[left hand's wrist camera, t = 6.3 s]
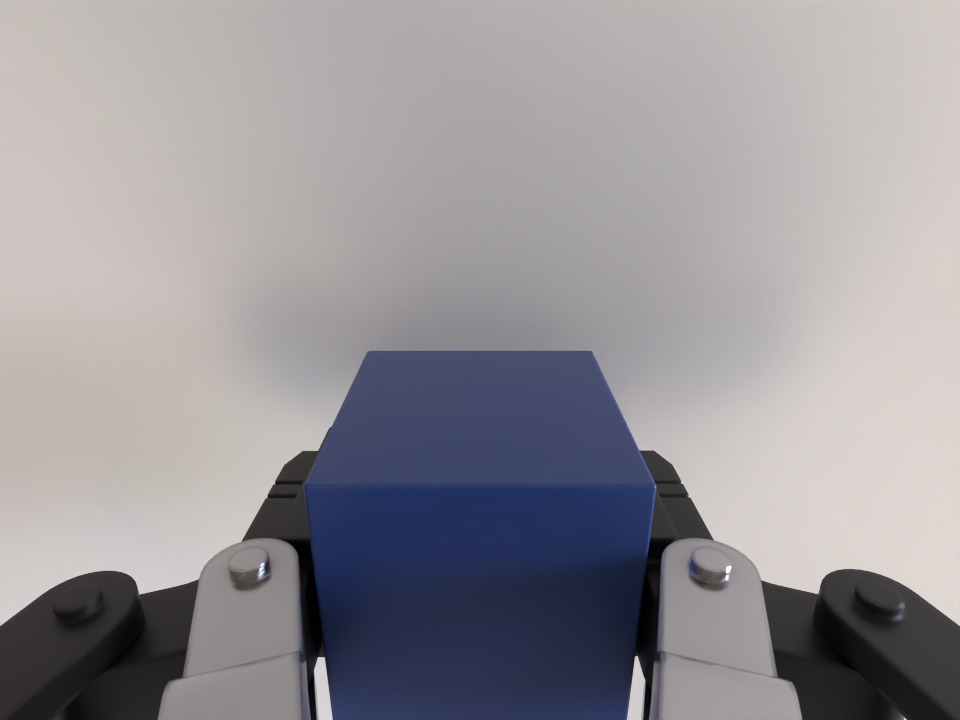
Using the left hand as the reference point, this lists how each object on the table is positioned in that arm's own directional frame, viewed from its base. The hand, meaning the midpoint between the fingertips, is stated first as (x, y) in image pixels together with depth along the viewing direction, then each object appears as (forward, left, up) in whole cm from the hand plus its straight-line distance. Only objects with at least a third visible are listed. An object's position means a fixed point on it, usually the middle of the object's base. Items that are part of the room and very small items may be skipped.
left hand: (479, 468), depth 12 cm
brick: (0, 0, 0) cm, 0 cm away
